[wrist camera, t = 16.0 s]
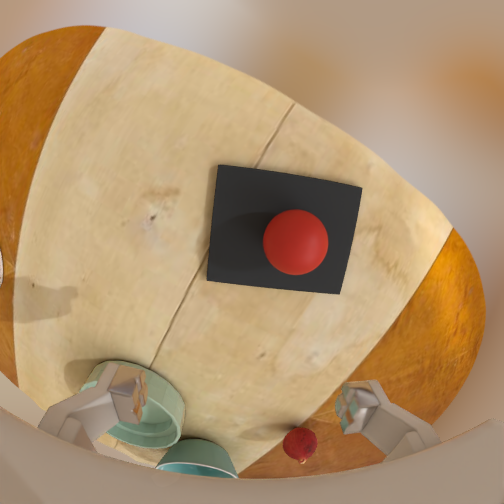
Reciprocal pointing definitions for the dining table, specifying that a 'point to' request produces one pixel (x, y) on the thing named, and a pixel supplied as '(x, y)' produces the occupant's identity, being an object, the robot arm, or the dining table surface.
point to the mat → (259, 216)
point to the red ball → (295, 242)
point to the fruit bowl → (148, 412)
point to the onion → (300, 444)
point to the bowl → (198, 459)
